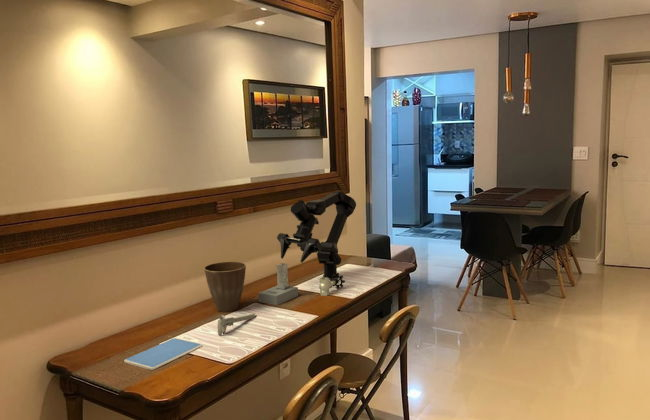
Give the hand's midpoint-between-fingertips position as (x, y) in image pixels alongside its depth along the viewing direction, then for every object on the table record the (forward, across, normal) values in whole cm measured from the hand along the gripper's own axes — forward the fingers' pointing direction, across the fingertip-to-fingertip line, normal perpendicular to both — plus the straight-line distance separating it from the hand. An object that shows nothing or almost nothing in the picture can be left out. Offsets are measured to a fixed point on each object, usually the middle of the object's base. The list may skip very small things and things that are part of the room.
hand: (291, 260), depth 211 cm
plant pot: (+28, +10, +10) cm, 32 cm away
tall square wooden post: (+14, 0, -5) cm, 15 cm away
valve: (+5, -14, -13) cm, 20 cm away
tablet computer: (+56, +1, +40) cm, 69 cm away
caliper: (+36, -4, +20) cm, 42 cm away
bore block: (+16, 0, -2) cm, 16 cm away
